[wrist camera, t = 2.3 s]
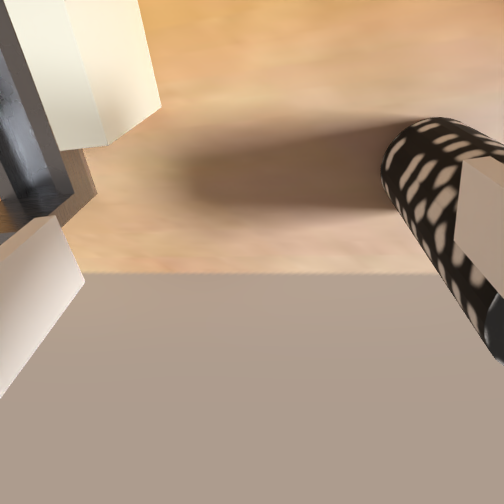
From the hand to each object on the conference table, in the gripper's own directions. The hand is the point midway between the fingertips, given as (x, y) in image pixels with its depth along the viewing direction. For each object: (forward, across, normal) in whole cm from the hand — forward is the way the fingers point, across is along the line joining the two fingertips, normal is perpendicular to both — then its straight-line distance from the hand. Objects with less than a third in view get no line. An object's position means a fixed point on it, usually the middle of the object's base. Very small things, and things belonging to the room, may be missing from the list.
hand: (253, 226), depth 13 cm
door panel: (+22, -10, +7) cm, 26 cm away
